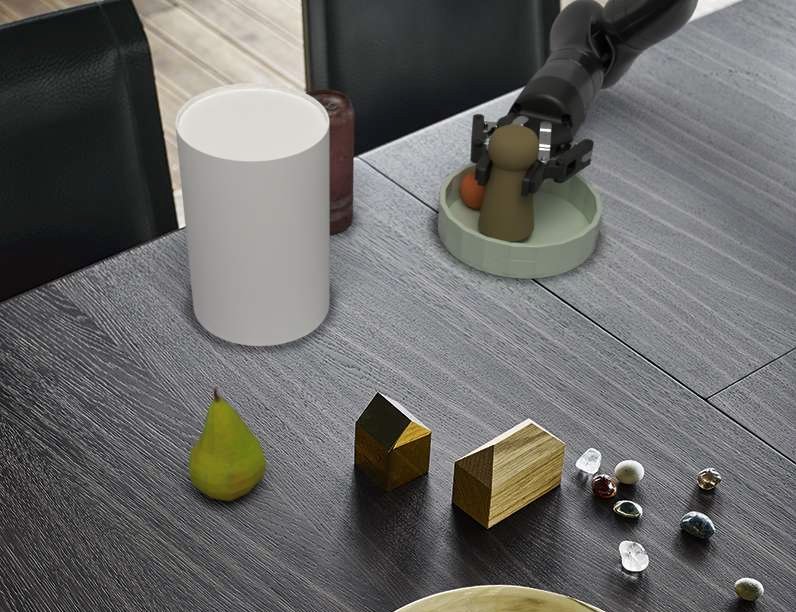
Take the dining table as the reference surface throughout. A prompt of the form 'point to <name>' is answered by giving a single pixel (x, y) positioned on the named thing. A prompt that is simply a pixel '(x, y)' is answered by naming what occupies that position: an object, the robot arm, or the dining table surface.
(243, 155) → the canister
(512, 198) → the brown pawn
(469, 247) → the bowl
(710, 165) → the dining table surface
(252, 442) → the fruit
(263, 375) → the dining table surface
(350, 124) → the can
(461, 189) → the ball
